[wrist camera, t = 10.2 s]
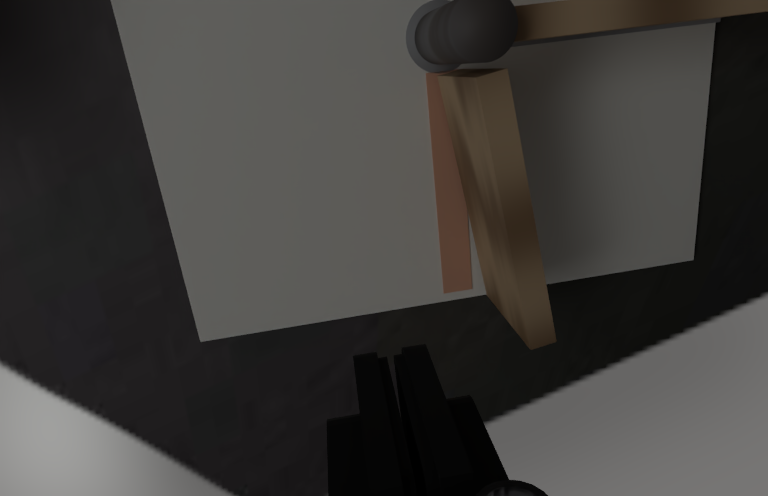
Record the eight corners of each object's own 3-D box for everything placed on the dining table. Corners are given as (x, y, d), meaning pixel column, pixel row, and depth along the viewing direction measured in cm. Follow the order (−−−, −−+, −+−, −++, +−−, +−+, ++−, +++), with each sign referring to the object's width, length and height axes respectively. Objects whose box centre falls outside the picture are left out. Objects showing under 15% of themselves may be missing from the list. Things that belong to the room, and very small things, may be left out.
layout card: (726, -125, 24) (734, -128, 24) (691, 257, 31) (697, 259, 30) (96, -67, 22) (91, -69, 21) (201, 338, 28) (200, 342, 27)
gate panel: (437, 76, 24) (476, 77, 19) (461, 68, 25) (507, 68, 19) (486, 294, 29) (530, 349, 23) (507, 288, 29) (556, 341, 23)
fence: (717, -22, 26) (858, -53, 19) (712, 31, 26) (846, 18, 20) (410, 13, 24) (448, -9, 18) (414, 67, 25) (453, 66, 18)
